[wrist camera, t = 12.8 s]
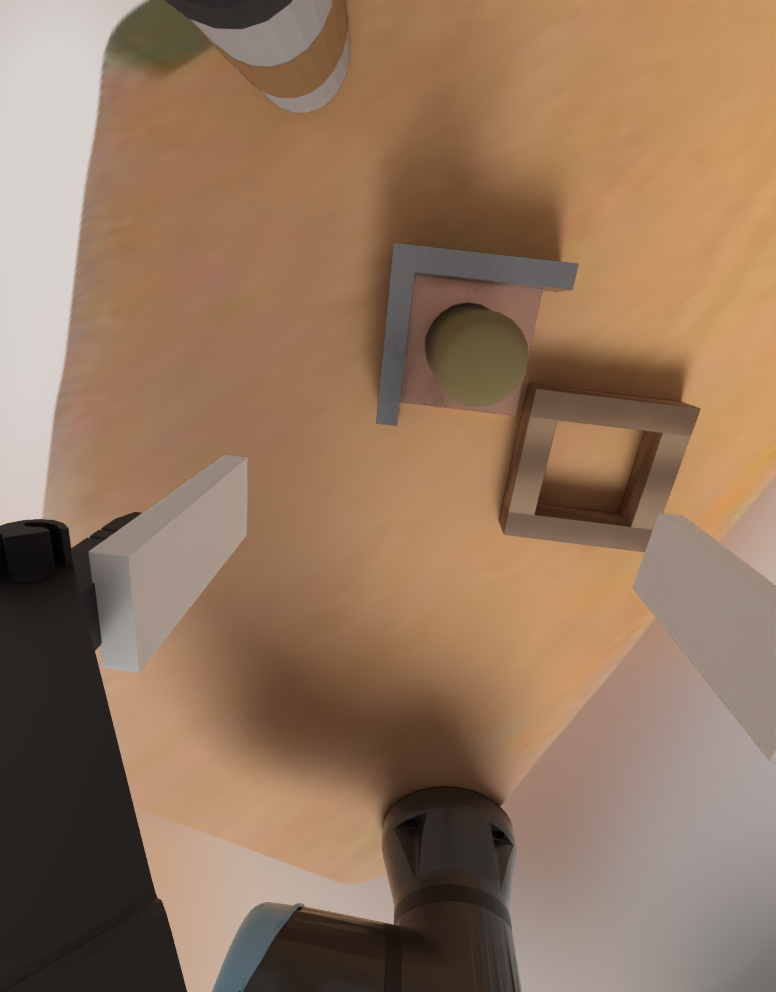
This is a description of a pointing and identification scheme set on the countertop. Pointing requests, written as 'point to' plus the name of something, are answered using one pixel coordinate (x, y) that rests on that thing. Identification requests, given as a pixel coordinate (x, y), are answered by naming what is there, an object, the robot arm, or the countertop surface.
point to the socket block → (647, 483)
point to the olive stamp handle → (476, 354)
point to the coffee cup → (279, 45)
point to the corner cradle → (439, 285)
